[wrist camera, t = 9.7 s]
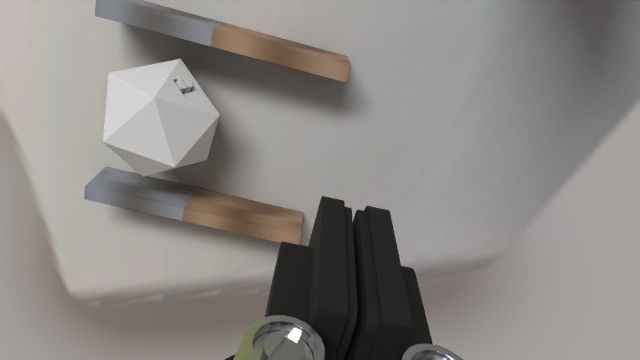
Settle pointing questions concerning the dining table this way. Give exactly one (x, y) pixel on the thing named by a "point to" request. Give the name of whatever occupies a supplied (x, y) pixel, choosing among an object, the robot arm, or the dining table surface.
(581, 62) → the dining table surface
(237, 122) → the dining table surface
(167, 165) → the die
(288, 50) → the channel
